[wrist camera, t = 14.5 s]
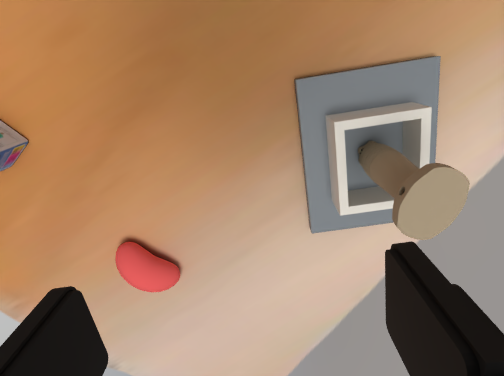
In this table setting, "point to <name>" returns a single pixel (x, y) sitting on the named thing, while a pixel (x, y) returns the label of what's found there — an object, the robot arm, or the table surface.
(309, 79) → the socket
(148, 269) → the red bean shape
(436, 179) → the handle
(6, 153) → the ink cartridge box
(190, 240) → the table surface
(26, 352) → the robot arm
